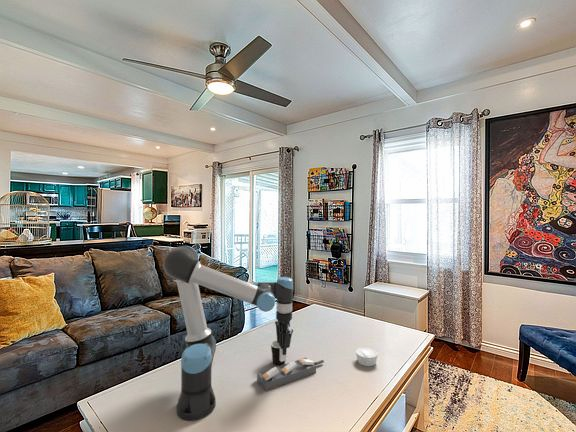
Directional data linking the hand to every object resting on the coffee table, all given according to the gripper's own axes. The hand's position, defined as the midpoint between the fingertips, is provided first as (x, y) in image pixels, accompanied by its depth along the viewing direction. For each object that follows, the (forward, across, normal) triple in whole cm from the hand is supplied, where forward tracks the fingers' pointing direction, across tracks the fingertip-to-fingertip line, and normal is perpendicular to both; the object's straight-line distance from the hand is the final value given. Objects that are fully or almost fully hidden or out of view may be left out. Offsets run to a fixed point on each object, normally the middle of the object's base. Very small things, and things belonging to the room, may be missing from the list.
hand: (282, 360), depth 135 cm
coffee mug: (+10, +15, -7) cm, 20 cm away
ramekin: (+9, -8, -47) cm, 49 cm away
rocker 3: (+4, 0, -14) cm, 14 cm away
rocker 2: (+4, 0, -4) cm, 6 cm away
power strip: (+10, +2, -8) cm, 12 cm away
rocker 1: (+5, 0, +6) cm, 8 cm away
